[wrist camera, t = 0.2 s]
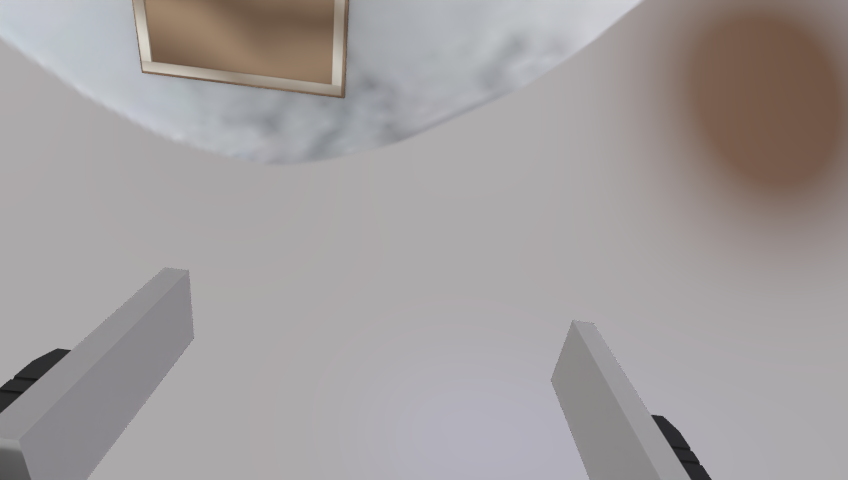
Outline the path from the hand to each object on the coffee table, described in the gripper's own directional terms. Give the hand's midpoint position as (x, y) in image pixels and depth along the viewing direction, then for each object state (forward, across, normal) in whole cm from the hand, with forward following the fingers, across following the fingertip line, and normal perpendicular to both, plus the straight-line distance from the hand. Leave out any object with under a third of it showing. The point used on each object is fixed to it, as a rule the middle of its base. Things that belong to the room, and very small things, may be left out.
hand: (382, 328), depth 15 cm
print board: (+28, -15, +10) cm, 33 cm away
